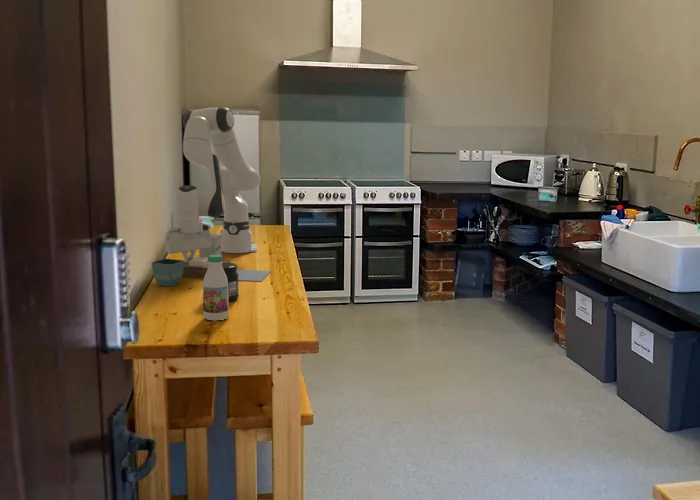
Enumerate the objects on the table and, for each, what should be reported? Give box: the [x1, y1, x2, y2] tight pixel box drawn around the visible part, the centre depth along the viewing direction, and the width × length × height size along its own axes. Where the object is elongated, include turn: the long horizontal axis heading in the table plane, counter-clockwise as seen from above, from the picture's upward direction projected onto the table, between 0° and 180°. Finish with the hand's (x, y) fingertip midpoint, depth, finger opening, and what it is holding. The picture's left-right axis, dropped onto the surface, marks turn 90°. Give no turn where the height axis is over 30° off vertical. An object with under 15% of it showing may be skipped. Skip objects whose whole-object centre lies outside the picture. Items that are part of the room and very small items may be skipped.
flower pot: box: [151, 258, 185, 287], centre depth 253 cm, size 9×9×9 cm
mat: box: [236, 268, 272, 283], centre depth 271 cm, size 18×15×1 cm
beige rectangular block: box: [189, 256, 208, 267], centre depth 272 cm, size 9×6×2 cm, turn 173°
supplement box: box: [198, 233, 222, 257], centre depth 288 cm, size 7×7×13 cm
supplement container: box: [222, 262, 239, 302], centre depth 235 cm, size 10×10×12 cm
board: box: [182, 260, 231, 279], centre depth 272 cm, size 14×18×4 cm
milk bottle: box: [202, 254, 230, 320], centre depth 211 cm, size 8×8×20 cm
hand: (189, 261), depth 272 cm, fingers closed
